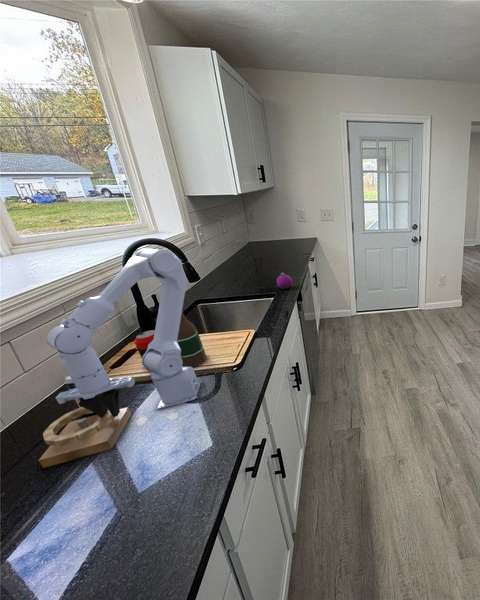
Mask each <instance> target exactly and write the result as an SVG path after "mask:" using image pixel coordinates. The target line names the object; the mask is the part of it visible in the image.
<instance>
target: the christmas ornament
mask: <svg viewBox="0 0 480 600" xmlns="http://www.w3.org/2000/svg"><path fill="white" fill-rule="evenodd" d="M276 285H277V287H278V288H279V289H282V290H288V289H290V288H291V287H292V285H293V279H292V277H291V276H290V275H289V274H285V272H283V271H281V273H280V275H279V276H278V277H277V278H276Z"/></svg>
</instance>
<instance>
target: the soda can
mask: <svg viewBox="0 0 480 600" xmlns="http://www.w3.org/2000/svg"><path fill="white" fill-rule="evenodd" d="M154 334H155V329H152V330H146V331H143V332H141V333H139V334H137V335H136V336H135V339H134V342H133V343H134V345H135V347H136V349H137V351H138V353H139V357H140V358H141V359H142V357H143V355H144V354H145V353H146V351H147V349H148V345H149V344H150V343H151V342H152V341H153V340H154Z"/></svg>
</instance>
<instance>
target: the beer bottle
mask: <svg viewBox="0 0 480 600" xmlns="http://www.w3.org/2000/svg"><path fill="white" fill-rule="evenodd" d="M177 343H178V345H179V347H180V349H181V358H182V361H183V365H182V367H192V368H194V367H198V366H200V365H201V364H203V363H205V362H206V359H207V355H206V352H205V351H206V350H205V348H204V346H203V343H202V339H201V337H200V335H199V331H198V329H197V327H196V326H195V324H194V323H193V322H191V321H190V320H188V319H187V317H186V315H185V314H184V311H183V310H182V314H181V320H180V326H179V332H178V338H177Z"/></svg>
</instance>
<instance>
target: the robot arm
mask: <svg viewBox="0 0 480 600" xmlns="http://www.w3.org/2000/svg"><path fill="white" fill-rule="evenodd" d="M182 262H183V261H182V260H181V259H180V258H179V257H178V256H177V255H176V254H175V253H174V252H173V251H170V250H168V249H157V248H152V247H144V248H141V249H139V250H138V251H137V252H136V254H135V255H133V256H131V257H130V258H129V259H128V261H127V262H126V264H125V265H124V266H123V267H122V269H121V270H120V271H119V272H118V273H117V274H115V276H114V277H113V279H111V281H110V282H109V283H108V284H107V286H106V287H105V288H104V289H103V290H102V291H101V292H100V293H99V295H97V296H92V297H87V298H86V299H85V300H79V302H78V303H76V306H78V307H76V309H75V310H74V311H72V313H71V314H70V315H69V316H68V317H67V318H66V319H62V320H61V321H60V322H59V325H57V326H55V327H53V328H52V329H50V331H49V332H48V333H47V337H46V339H47V341H46V343H47V345H48V346H49V347H51V348H54V349H56V352H57V354H58V357H59V359H61V363H62V365H63V367H64V368H65V370H66V372H67V373H68V375H70V377H71V379H72V380H73V382H74V384H75V385H76V387H77V388H75V389H72V390H69V389H68V390H66V391H62V392H59V393H58V395H56V396H55V400H56V401H57V403H58V404H59V405H62V404H65V403H67V402H68V401H72V400H75V399H77V398H80V402H79V406H80V407H83V408H86V409H88V410H91V411H92V412H94V413H93V414H95V415H98V416H99V417H100V418H102V417H104V415H105V414H106V412H107V411H108V409H109V411H110V413H111V415H112V416H113V417H116V416H117V415H118V414H119V412H120V410H119V409H120V403H119V399H120V398H119V397H120V390H121V389H123V388H127V389H128V388H132V387H134V385H135V384H136V381H135V378H134V376H133V375H131V376H125V377H113V378H110V376H109V375H108V373H107V371H106V369H105V367H104V365H103V364H102V362H101V360H100V358H99V356H98V353H97V352H96V350H95V349H94V348H93V347H92V342H93V334H95V333H96V332H97V331H98V330H99V329H100V328H101V327H102V326H103V324H105V323H106V321H108V319H109V318H111V316H112V315H113V314H114V313H115V303H116V302H118V300H120V298H122V297H123V296H124V295H125V294H126V293H128V291H129V290H130V289H131V288H132V287H133V286H134V285H135V284H137V282H139V281H140V280H144V279H149V278H153V277H154V278H155V279H156V280H157V281H159V282H160V283H161V284H162V287H161V293H160V298H159V299H160V300H159V304H158V312H157V317H156V324H155V329H154V330H155V334H154V340H153V341H152V342H151V343H150V344H149V345H148V349H147V351H146V353H145V354H144V355H143V357H142V358H141V365H142V366H143V368H145V369H147V370H150V378H151V380H152V383H153V385H154V387H155V389H156V391H157V394H158V396H159V398H160V401H159V403H158V405H157V407H156V408H157V410H161V409H165V408H168V407H169V408H170V407H172V406H176V405H179V404H184V403H187V402H191V401H194V400H196V398H197V396H198V393H199V390H200V387H201V383H200V382H199V380H198V377H197V374H196V372H195V369H194V367H183V366H182V365H183V361H182V358H181V349H180V347H179V345H178V343H177V338H178V332H179V326H180V320H181V314H182V311H183V307H184V300H185V296H186V290H187V284H188V283H187V282H188V281H187V276H186V275H185V272H184V269H183V266H182ZM79 406H78V407H79Z"/></svg>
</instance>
